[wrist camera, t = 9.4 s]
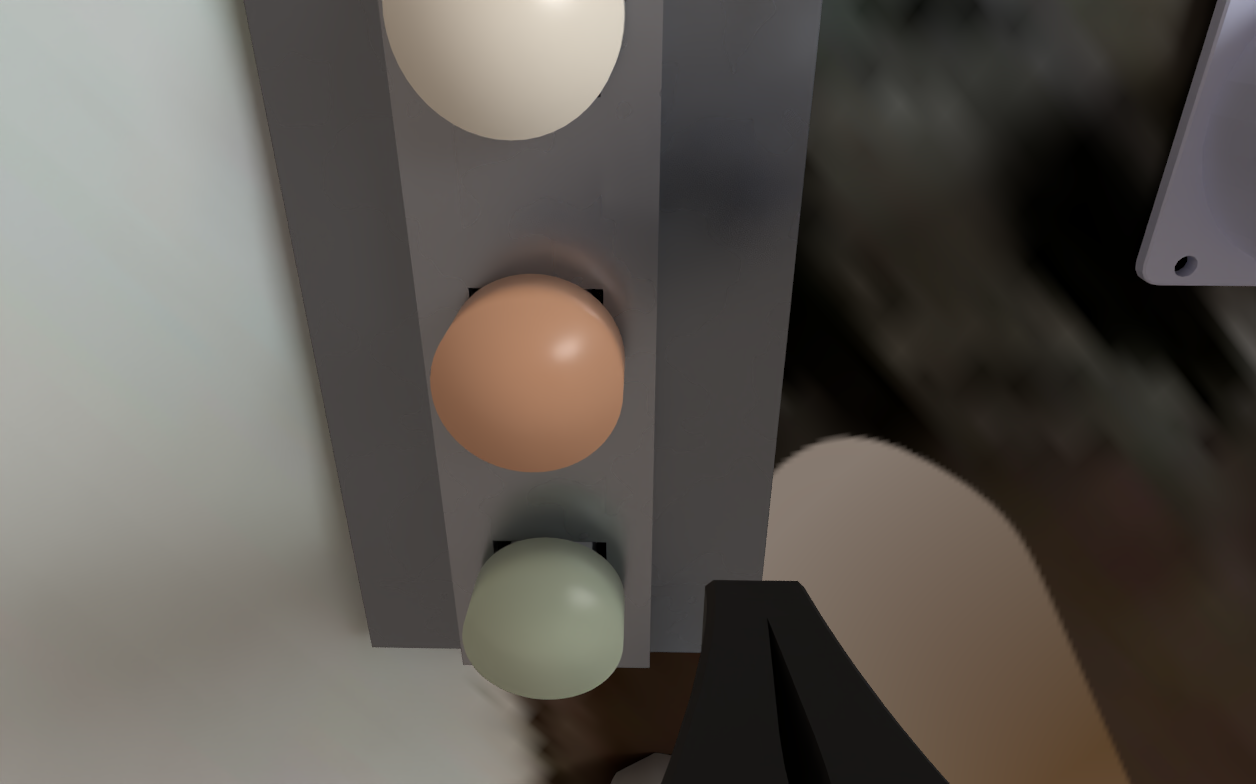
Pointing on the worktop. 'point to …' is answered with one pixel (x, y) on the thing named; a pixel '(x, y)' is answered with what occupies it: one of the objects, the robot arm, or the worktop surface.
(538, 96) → the cream knob
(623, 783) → the salt shaker
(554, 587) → the sage knob
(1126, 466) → the worktop surface
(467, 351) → the terracotta knob
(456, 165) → the switch panel
